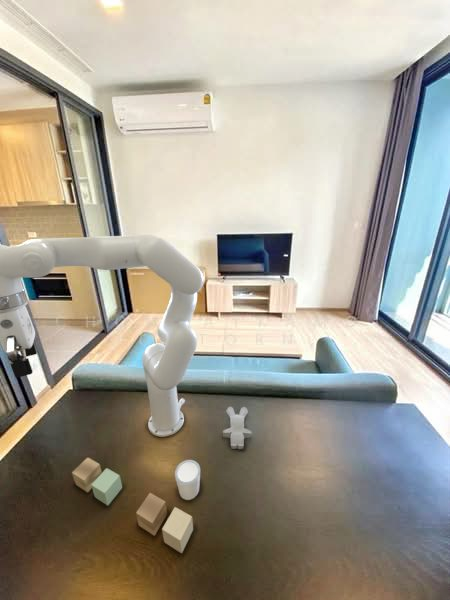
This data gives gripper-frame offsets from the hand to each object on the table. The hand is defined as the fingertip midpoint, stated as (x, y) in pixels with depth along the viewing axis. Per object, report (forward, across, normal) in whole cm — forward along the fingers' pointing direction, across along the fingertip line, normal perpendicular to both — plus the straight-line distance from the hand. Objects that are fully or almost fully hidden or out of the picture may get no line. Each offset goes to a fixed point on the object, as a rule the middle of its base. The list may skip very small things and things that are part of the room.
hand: (27, 364), depth 62 cm
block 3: (+37, -27, -20) cm, 50 cm away
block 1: (+37, -8, -7) cm, 39 cm away
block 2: (+37, -15, -11) cm, 41 cm away
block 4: (+37, -34, -24) cm, 56 cm away
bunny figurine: (+37, -16, -52) cm, 66 cm away
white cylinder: (+37, -25, -31) cm, 54 cm away
